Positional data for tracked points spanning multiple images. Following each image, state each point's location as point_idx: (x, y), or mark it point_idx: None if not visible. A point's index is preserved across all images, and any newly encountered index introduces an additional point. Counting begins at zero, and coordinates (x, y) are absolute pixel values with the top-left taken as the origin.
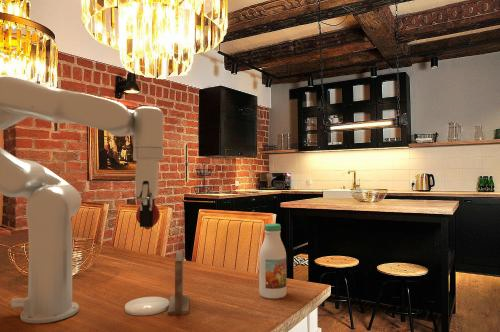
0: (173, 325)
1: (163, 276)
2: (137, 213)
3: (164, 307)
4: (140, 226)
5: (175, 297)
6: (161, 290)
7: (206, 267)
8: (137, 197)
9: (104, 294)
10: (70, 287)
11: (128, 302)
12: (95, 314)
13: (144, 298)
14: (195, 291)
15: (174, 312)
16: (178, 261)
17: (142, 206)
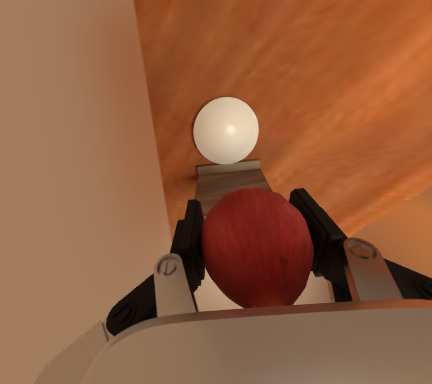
0: (166, 176)
1: (398, 121)
2: (222, 217)
3: (211, 160)
4: (189, 201)
5: (197, 184)
6: (305, 136)
7: (414, 188)
8: (251, 322)
9: (317, 11)
10: None
11: (233, 99)
12: (197, 45)
13: (251, 123)
14: (285, 185)
15: (198, 174)
16: None
17: (133, 291)
